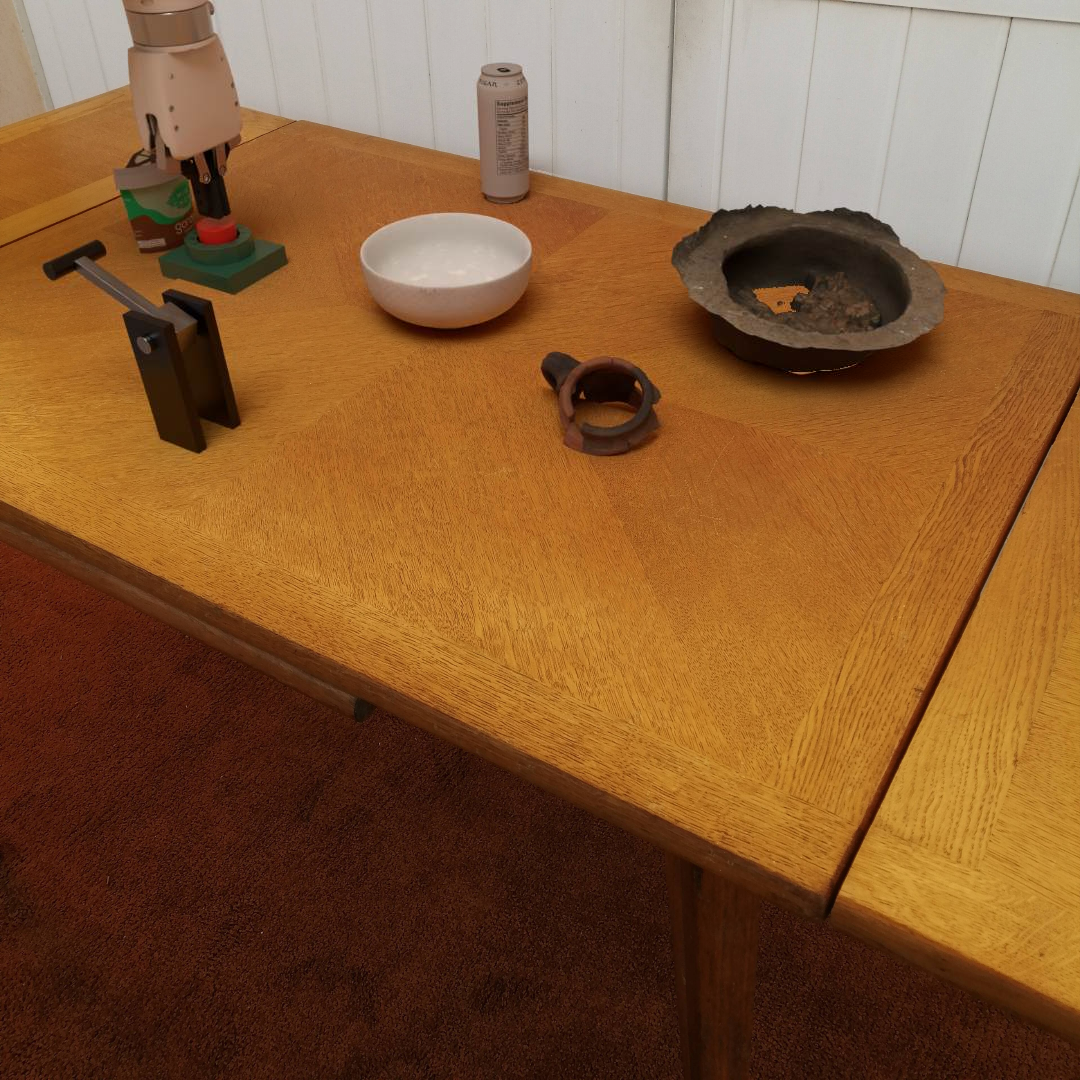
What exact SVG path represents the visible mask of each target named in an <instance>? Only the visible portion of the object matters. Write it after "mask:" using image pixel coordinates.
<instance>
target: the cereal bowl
mask: <svg viewBox="0 0 1080 1080" xmlns="http://www.w3.org/2000/svg"><path fill="white" fill-rule="evenodd" d="M359 261H360V268H361V273H362V276H363V280H364V282H365V285H366V289H368V293H369V294H370V295H371V297H372V299H373V300H374V301H375V302H376V303H377V305H379V306H380V308H382V309H383V310H384V311H385V312H387V313H388V314H389V315H392V316H393V317H395V318H397V319H398V320H401V321H404V322H406V323H409V324H412V325H417V326H421V327H426V328H433V329H438V330H457V329H463V328H467V327H470V326H473V325H479V324H482V323H485V322H488V321H490V320H492V319H495V318H497V317H498V316H501V315H502V314H503V313H506V312H507V311H508V310H510V309H512V307H513V306H514V305H515V304H516V303H517V302H518V301H519V300H520V299H521V297H522V296H523V295H524V293H525V291H526V289H527V287H528V284H529V282H530V279H531V275H532V274H531V273H532V268H533V247H532V243H531V240H530V238H529V237H528V236H527V235H526V233H525V232H524V231H523V230H521V229H519V227H517V226H515V225H514V224H512V223H509V222H508V221H504V220H502V219H499V218H496V217H492V216H487V215H484V214H479V213H469V212H468V213H467V212H434V213H428V214H427V213H426V214H421V215H415V216H410V217H406V218H402V219H400V220H397V221H394V222H391V223H389V224H387V225H384V226H383V227H380V228H379V229H377V230H376V231H374V232H373V233H371V234H370V235H369V236H368V237H367V238H366V239H365V240H364V241H363V243H362V244H361V246H360V250H359Z"/></svg>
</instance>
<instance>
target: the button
mask: <svg viewBox="0 0 1080 1080" xmlns="http://www.w3.org/2000/svg"><path fill="white" fill-rule="evenodd" d="M235 223H236V221H235V220H234V218H232V217H230V216H224V217H223V218H222V219H220V220H217V219H214V218H210V217H205V218H202V219H201V220H199V221H197V222H196V229H197V232H198V236H199V240H200V243H202V244H206V245H220V244H224V243H229V242H232V241H234V240H236V239H237V238H238V235H237V230H236V226H235Z"/></svg>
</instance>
